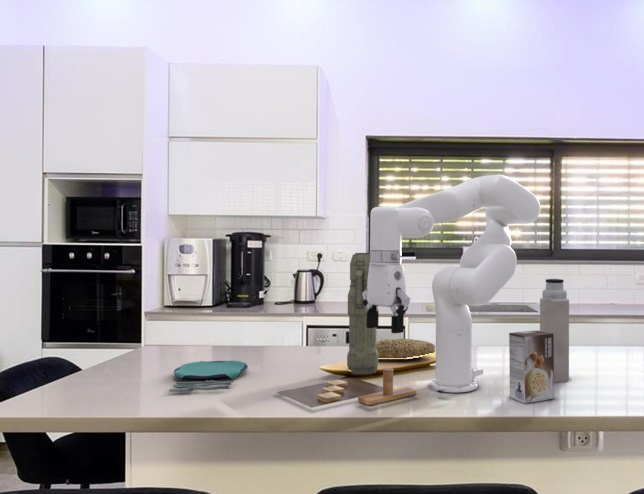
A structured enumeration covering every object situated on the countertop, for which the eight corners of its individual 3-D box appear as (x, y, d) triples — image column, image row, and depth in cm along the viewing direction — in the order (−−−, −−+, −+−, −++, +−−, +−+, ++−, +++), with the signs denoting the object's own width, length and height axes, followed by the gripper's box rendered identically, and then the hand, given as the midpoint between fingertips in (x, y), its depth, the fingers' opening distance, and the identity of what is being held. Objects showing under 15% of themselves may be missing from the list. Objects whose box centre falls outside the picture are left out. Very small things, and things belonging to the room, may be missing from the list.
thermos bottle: (545, 373, 162) (545, 277, 162) (572, 377, 157) (572, 278, 157) (535, 379, 155) (535, 279, 155) (563, 383, 151) (564, 280, 151)
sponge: (371, 367, 175) (433, 355, 172) (367, 342, 176) (428, 330, 174) (380, 365, 187) (437, 355, 185) (376, 342, 189) (433, 331, 187)
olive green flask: (344, 379, 154) (345, 253, 154) (349, 369, 166) (350, 252, 166) (376, 379, 154) (377, 253, 155) (379, 369, 166) (379, 252, 166)
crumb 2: (335, 389, 140) (335, 385, 140) (344, 392, 137) (344, 388, 137) (321, 392, 137) (321, 388, 137) (330, 395, 134) (330, 391, 134)
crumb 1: (339, 383, 146) (339, 379, 146) (347, 386, 143) (347, 382, 143) (325, 385, 143) (326, 381, 143) (334, 388, 140) (334, 384, 140)
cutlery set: (252, 366, 170) (252, 358, 170) (236, 392, 140) (236, 383, 140) (183, 368, 167) (183, 360, 167) (152, 395, 137) (152, 386, 137)
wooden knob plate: (357, 406, 129) (357, 371, 129) (405, 395, 138) (405, 363, 138) (369, 410, 126) (369, 375, 126) (416, 399, 135) (417, 366, 135)
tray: (352, 380, 153) (352, 377, 153) (391, 393, 140) (391, 389, 140) (276, 395, 137) (276, 391, 137) (311, 411, 125) (311, 407, 125)
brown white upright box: (537, 392, 141) (537, 329, 141) (554, 399, 135) (555, 333, 136) (508, 397, 137) (508, 332, 137) (524, 404, 131) (525, 336, 131)
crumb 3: (331, 395, 134) (331, 391, 134) (340, 399, 131) (341, 395, 131) (317, 398, 131) (317, 394, 131) (326, 402, 128) (326, 398, 128)
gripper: (421, 259, 129) (420, 333, 128) (376, 257, 142) (375, 324, 141) (395, 259, 124) (394, 336, 123) (352, 257, 137) (351, 327, 136)
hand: (384, 330), depth 132 cm, fingers open, 9 cm apart
